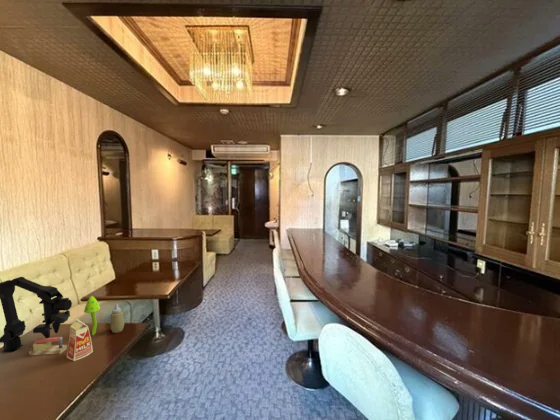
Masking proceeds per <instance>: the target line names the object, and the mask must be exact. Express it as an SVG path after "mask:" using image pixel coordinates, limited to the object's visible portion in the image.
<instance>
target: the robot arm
mask: <svg viewBox="0 0 560 420" xmlns="http://www.w3.org/2000/svg"><path fill="white" fill-rule="evenodd" d="M16 287H18V288H20V289H23V290H24V291H25V290H26V291H28V292H31V293H33V294H35V295H36V296H37V298H39V299H40V300H41V301H39V302H38V304H39V305H43V313H41V317H43V318H44V320H42V323H41V324H38V325H36V326H35V327H33V328H32V332H33V334H41V335H43V336H44V338H51V330H52V329H53V331H54V333H55V334H59V330H60V326H61V324H64V323H65V322H67V321H68V319H69V317H71V312H70V311H71V310H70V309H71V308H72V305H73V302H72V300H71V299H70V298H69V297H64V295H62V293H61V292H60V291H59V290H58V288H57V287H56V286H51V285H42V284H40V283H38V282H34V281H33V280H29V279H28V278H25V276H18V277H15V278H13V279H12V280H10V279H8V280H4V281H1V282H0V303H1V307H2V312H3V316H4V320H5V325H4V327H3V334H2V335H1V337H0V343H1V344H3V350H1V353H13V352H15V351H18V350H19V349H20V348H21V347H23V346H24V344H22V340H21V336H23V335H24V332H25V331H26V328H27V326H26V321H25V320H21V319H19V316H18V311H17V307H16V303H15V299H14V293H15V292H16ZM61 311H62V312H61ZM51 326H52V327H51Z"/></svg>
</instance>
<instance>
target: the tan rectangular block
mask: <svg viewBox="0 0 560 420" xmlns="http://www.w3.org/2000/svg"><path fill="white" fill-rule="evenodd" d="M32 346H33V350H34V351H46V350H47V349H48V348H50V347H51V346H53V345H52V342H45V343H35V342H34V343H33V344H32Z"/></svg>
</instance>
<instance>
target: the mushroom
mask: <svg viewBox="0 0 560 420" xmlns="http://www.w3.org/2000/svg"><path fill="white" fill-rule="evenodd" d="M100 309H101V306H100V304H99V302H98V299H96V298H95V296H94V295H91V296H90V297H89V298H88V299H87V302H86V305H85V306H84V311H83V312H84V314H90V315H91V320H92V321H91V323H92V325H91V326H92V329H91V336H95V335H96V333H97V328H98V321H97V316H96V312H99V310H100ZM94 334H95V335H94Z"/></svg>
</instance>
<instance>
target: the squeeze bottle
mask: <svg viewBox="0 0 560 420" xmlns="http://www.w3.org/2000/svg"><path fill="white" fill-rule="evenodd" d="M109 323H110V324H109V329H110V330H111V333H113V334H118V333H120V332H123V330H124V327H125V319H124V313H123V311H122V308H121V307H119V304H118V303H115V305H114V307H113V309H112V312H111V314H110V322H109Z"/></svg>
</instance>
